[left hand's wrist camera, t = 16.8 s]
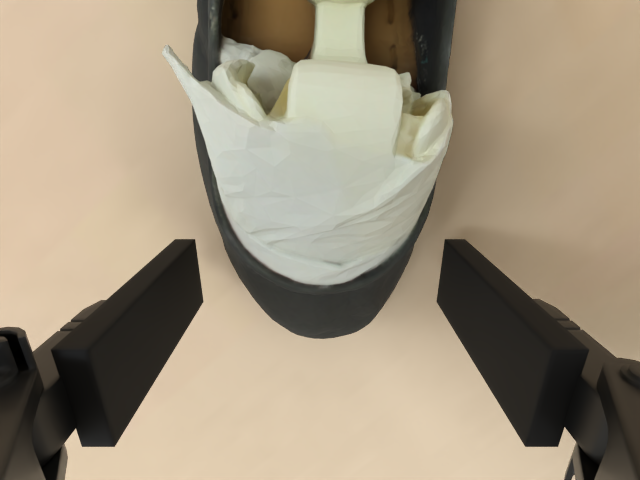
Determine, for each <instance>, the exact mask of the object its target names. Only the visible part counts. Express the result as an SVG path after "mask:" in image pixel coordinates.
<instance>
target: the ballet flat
mask: <svg viewBox="0 0 640 480" xmlns="http://www.w3.org/2000/svg"><path fill="white" fill-rule="evenodd" d="M456 2H457V0H197V11H198V25H197V29H196V32H195V38H194V45H193V60H192V73H191V72H190V71H189V69H188V67H187V66H185V65H184V64H183V63H182V62H181V61H180V59H179V58H178V57H177V56H176V54H175V53H174V52H173V50H172V48H171V47H170V46H169V45H166V46H165V47H164V50H163V52H162V54H163V56H164V57H165V59H166V60H167V61H168V63H169V64H170V65H171V67H172V69H173V71H174V72H175V74H176V76H177V78H178V79H179V81H180V83H181V85H182V86H183V88H184V90H185V92H186V93H187V95H188V97H189V99H190V101H191V102H192V109H193V122H194V133H195V140H196V147H197V153H198V158H199V163H200V167H201V172H202V176H203V180H204V184H205V188H206V192H207V196H208V199H209V203H210V206H211V209H212V212H213V215H214V218H215V221H216V224H217V226H218V228H219V231H220V233H221V236H222V238H223V242H224V246H225V250H226V252H227V254H228V256H229V258H230V261H231V263H232V265H233V266H234V268H235V270H236V272H237V274H238V276H239V278H240V279H241V281H242V282H243V283H244V285H245V286H246V288H247V289H248V291H249V292H250V294H251V295H252V297H253V298H254V299H255V301H256V302H257V303H258V304H259V305H260V307H261V308H262V309H263V310H264V311H265V312H266V313H267V314H268V315H269V316H270V317H271V318H272V319H273V320H274V321H276V322H277V323H278V324H280V325H281V326H283V327H285V328H286V329H288V330H289V331H290V332H292V333H295V334H297V335H300V336H304V337H309V338H320V339H325V338H335V337H339V336H344V335H348V334H351V333H354V332H357V331H359V330H360V329H362V328H364V327H365V326H366V325H368V324H369V323H370V322H371V321H372V320H373V319H374V318H375V316H376V315H377V314H378V312H379V311H380V310H381V309H382V307H383V305H384V304H385V302H386V301H387V299H388V298H389V296H390V295H391V293H392V292H393V290H394V288H395V287H396V285H397V283H398V281H399V279H400V277H401V275H402V273H403V272H404V269H405V267H406V265H407V263H408V261H409V259H410V256H411V253H412V251H413V247H414V244H415V242H416V240H417V238H418V236H419V234H420V232H421V230H422V228H423V225H424V223H425V221H426V219H427V216H428V213H429V210H430V206H431V203H432V199H433V195H434V189H435V184H436V179H437V175H438V172H439V170H440V167H441V164H442V161H443V158H444V156H445V154H446V152H447V148H448V144H449V141H450V137H451V133H452V128H453V118H452V115H451V110H452V103H451V97H450V93H449V92H448V91H447V90H446V84H447V73H448V67H449V58H450V53H451V43H452V35H453V26H454V18H455V10H456Z"/></svg>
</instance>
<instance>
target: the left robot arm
mask: <svg viewBox="0 0 640 480" xmlns="http://www.w3.org/2000/svg"><path fill="white" fill-rule="evenodd" d="M202 303H203V296H202V288H201V281H200V273H199V265H198V258H197V250H196V243H195V239H175V240H174V241H173V242H172V243H171V244H169V245H168V246H167V247H166V248H165V249H164V250H163V251H161V252H160V253H159V254H158V255H157V256H156V257H155V258H154V259H152V260H151V261H150V262H149V263H148V264H147V265H146V266H145V267H143V268H142V269H141V270H140V271H139V272H138V273H137V274H135V275H134V276H133V277H132V278H131V279H130V280H129V281H128V282H126V283H125V284H124V285H123V286H122V287H121V288H120V289H119V290H117V291H116V292H115V293H114V294H113V295H112V296H111V297H109V298H108V299H107V300H101V301H99V302H97V303H95V304H93V305H91V306H89V307H87V308H85V309H83V310H82V311H81V312H80V313H79V314H78V315H76V316H75V317H74V318H73V319H72V320H71V322H68V323H67V324H66V325H64V326H63V327H62V328H61V329H60V331H57V332H56V333H55V334H54V335H52V336H51V337H50V338H49V339H48V340H46V341H45V342H44V343H43V344H42V345H41V346H39V347H38V348H37V349H36V350H35V351H33V352H32V350H31V347H30V344H29V341H28V338H27V335H26V332H25V331H24V330H22V329H21V328H17V327H4V328H0V480H65V473H66V466H67V460H68V456H67V450H66V447H65V444H64V443H65V441H66V440H67V439H68V438H69V436H70V435H71V434H72V432H73V431H74V430H75V428H76V429H77V433H78V436H79V439H80V442H81V445H82V447H115V445H116V444H117V442H118V440H119V439H120V437H121V435H122V434H123V432H124V430H125V429H126V427H127V426H128V424H129V422H130V421H131V419H132V417H133V416H134V414H135V413H136V411H137V409H138V408H139V406H140V404H141V403H142V401H143V399H144V398H145V396H146V395H147V393H148V391H149V390H150V388H151V386H152V385H153V383H154V381H155V380H156V378H157V377H158V375H159V373H160V372H161V370H162V368H163V367H164V365H165V364H166V362H167V360H168V359H169V357H170V355H171V354H172V352H173V350H174V349H175V347H176V346H177V344H178V342H179V341H180V339H181V337H182V336H183V334H184V333H185V331H186V329H187V328H188V326H189V324H190V323H191V321H192V319H193V318H194V316H195V315H196V313H197V311H198V310H199V308H200V306H201V305H202ZM437 303H438V305H439V306H440V308H441V310H442V311H443V313H444V315H445V316H446V318H447V319H448V321H449V323H450V324H451V326H452V328H453V329H454V331H455V333H456V334H457V336H458V337H459V339H460V341H461V342H462V344H463V346H464V347H465V349H466V350H467V352H468V354H469V355H470V357H471V359H472V360H473V362H474V364H475V365H476V367H477V368H478V370H479V372H480V373H481V375H482V377H483V378H484V380H485V381H486V383H487V385H488V386H489V388H490V390H491V391H492V393H493V395H494V396H495V398H496V399H497V401H498V403H499V404H500V406H501V408H502V409H503V411H504V412H505V414H506V416H507V417H508V419H509V421H510V422H511V424H512V426H513V427H514V429H515V430H516V432H517V434H518V435H519V437H520V439H521V440H522V442H523V444H524V445H525V447H558V445H559V442H560V439H561V436H562V433H563V430H564V427H565V428H566V429H567V430H568V432H569V433H570V434H571V436H572V437H573V438H574V439H575V441H576V444H575V447H574V450H573V453H572V456H571V459H570V462H569V465H568V467H567V470H566V473H565V479H564V480H571V479H572V476H573V475H575V479H576V480H640V362H638V361H635V360H630V359H624V358H616V357H615V356H614V355H612V354H611V353H610V352H609V351H608V350H606V349H605V348H604V347H603V346H602V345H600V344H599V343H598V342H597V341H596V340H594V339H593V338H592V337H591V336H590V335H588V334H587V333H586V332H585V331H584V330H580V327H579V326H578V325H576V324H575V323H574V322H573V321H570V320H569V318H568V317H567V316H566V315H564V314H563V313H562V312H561V311H560V310H558V309H557V308H556V307H554V306H552V305H550V304H548V303H546V302H544V301H542V300H540V299H532V298H531V297H529V296H528V295H527V294H526V293H525V292H524V291H523V290H521V289H520V288H519V287H518V286H517V285H516V284H515V283H514V282H512V281H511V280H510V279H509V278H508V277H507V276H506V275H505V274H503V273H502V272H501V271H500V270H499V269H498V268H497V267H495V266H494V265H493V264H492V263H491V262H490V261H489V260H488V259H486V258H485V257H484V256H483V255H482V254H481V253H480V252H479V251H477V250H476V249H475V248H474V247H473V246H472V245H471V244H469V243H468V242H467V241H466V240H465V239H445V243H444V251H443V258H442V266H441V273H440V281H439V288H438V296H437Z"/></svg>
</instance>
